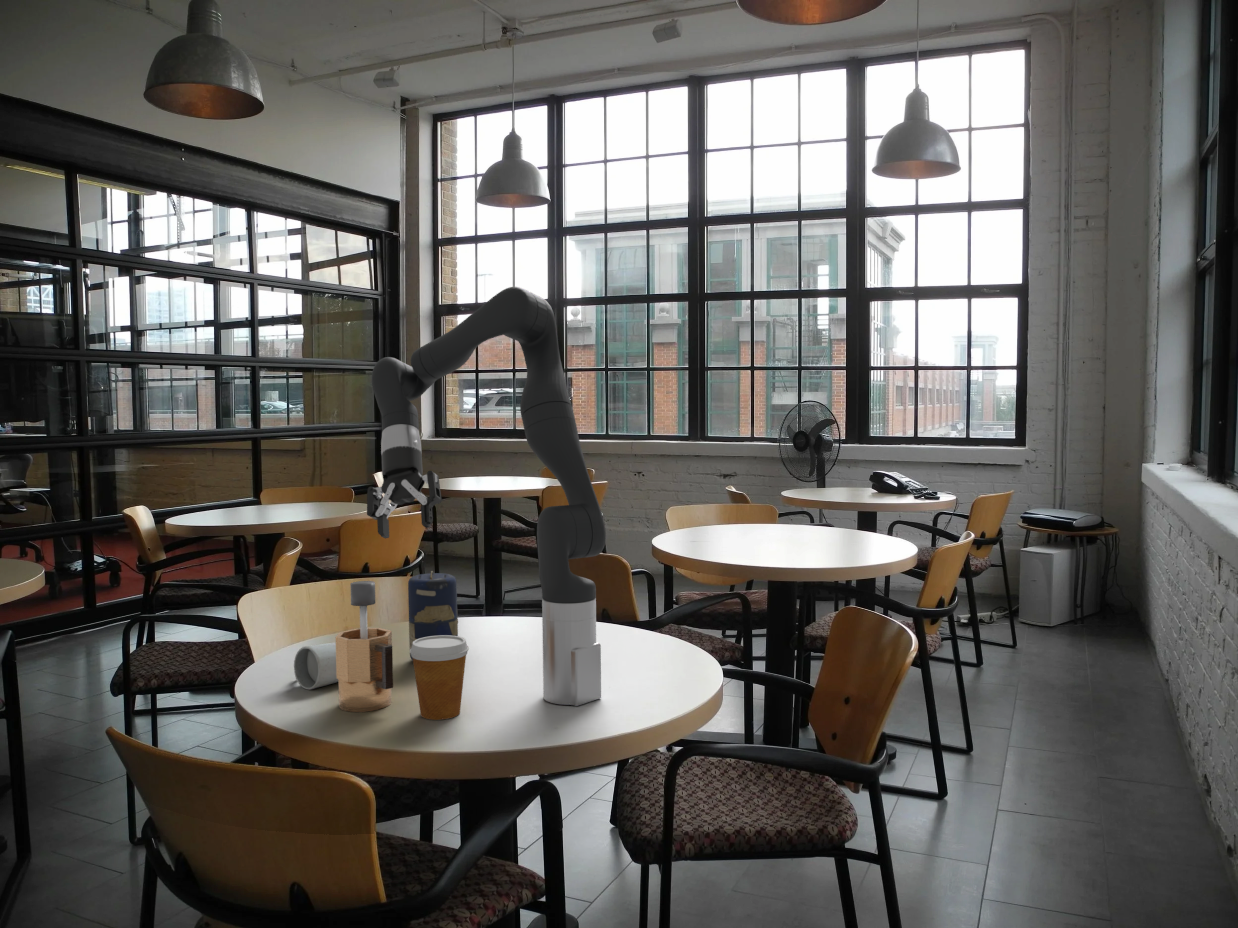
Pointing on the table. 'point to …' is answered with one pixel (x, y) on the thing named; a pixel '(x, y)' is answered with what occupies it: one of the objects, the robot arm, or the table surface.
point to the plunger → (363, 602)
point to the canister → (432, 606)
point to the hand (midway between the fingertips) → (405, 531)
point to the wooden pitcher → (364, 669)
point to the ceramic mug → (316, 665)
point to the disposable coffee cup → (439, 674)
